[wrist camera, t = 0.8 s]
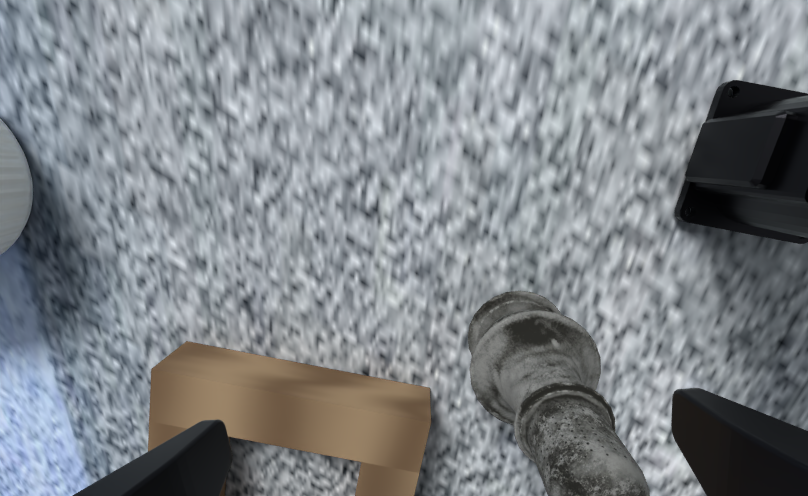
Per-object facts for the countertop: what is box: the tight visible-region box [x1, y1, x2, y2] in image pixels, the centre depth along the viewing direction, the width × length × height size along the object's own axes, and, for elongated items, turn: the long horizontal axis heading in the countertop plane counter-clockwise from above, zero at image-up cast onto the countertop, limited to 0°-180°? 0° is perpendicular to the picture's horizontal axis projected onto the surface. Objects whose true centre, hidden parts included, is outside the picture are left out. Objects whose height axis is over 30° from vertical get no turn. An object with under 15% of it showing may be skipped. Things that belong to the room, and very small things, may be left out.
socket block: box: [148, 341, 431, 496], centre depth 23 cm, size 14×14×3 cm
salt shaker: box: [468, 291, 650, 496], centre depth 16 cm, size 6×6×12 cm
